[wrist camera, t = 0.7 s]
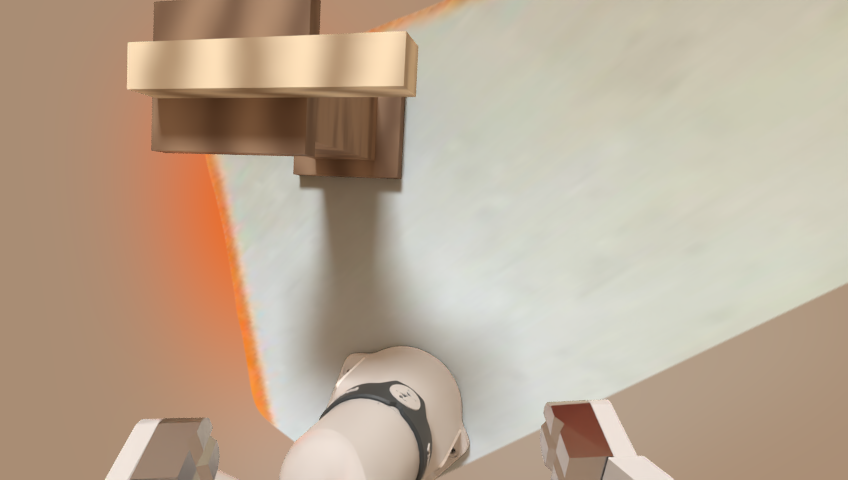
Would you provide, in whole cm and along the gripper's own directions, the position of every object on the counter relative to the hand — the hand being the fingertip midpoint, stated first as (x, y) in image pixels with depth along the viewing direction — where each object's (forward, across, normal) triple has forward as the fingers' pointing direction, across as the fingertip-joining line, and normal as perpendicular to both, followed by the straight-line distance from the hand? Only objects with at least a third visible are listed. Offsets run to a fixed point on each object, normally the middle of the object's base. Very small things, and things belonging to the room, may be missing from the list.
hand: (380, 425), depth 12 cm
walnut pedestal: (+54, -6, -9) cm, 55 cm away
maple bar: (+31, -8, +2) cm, 32 cm away
